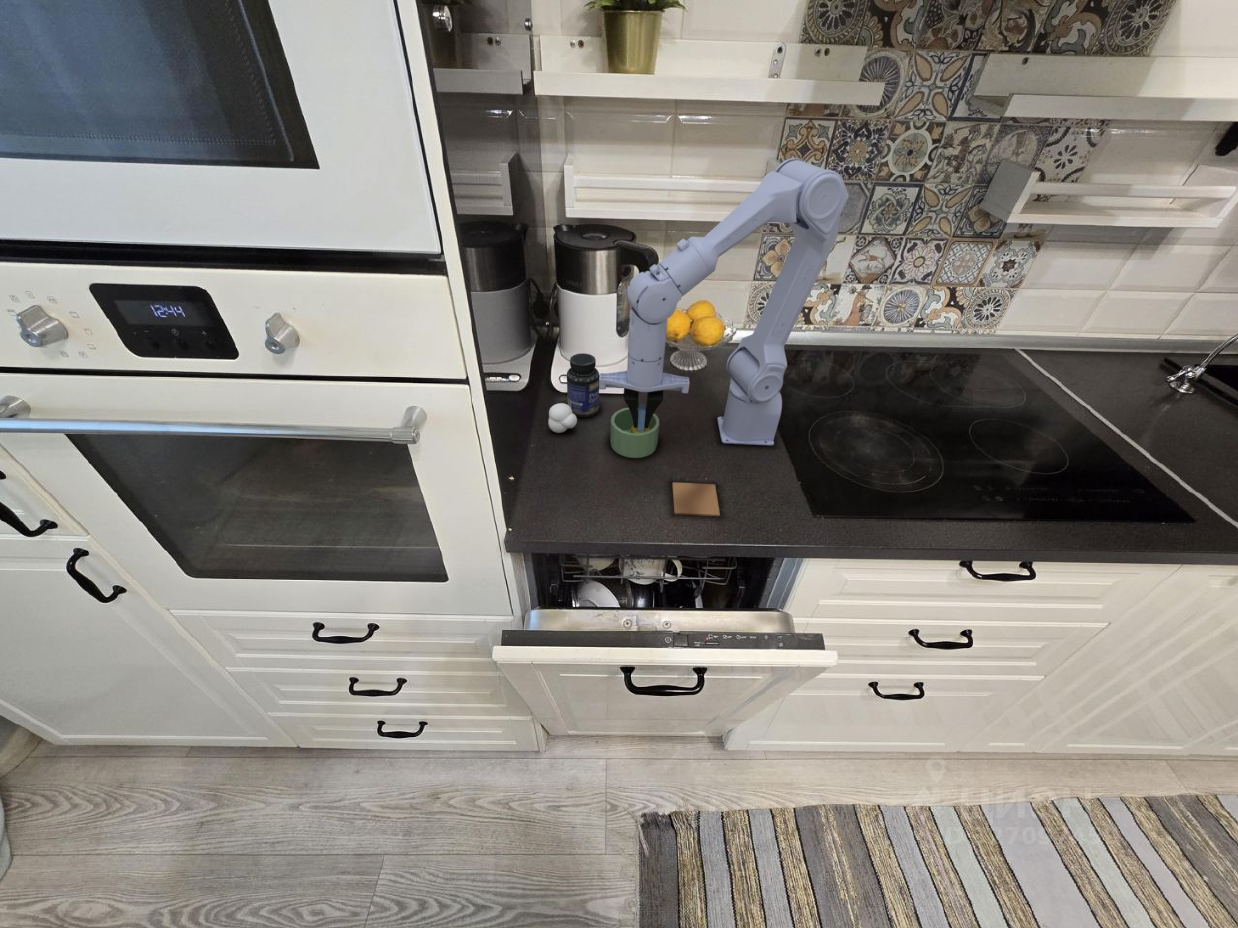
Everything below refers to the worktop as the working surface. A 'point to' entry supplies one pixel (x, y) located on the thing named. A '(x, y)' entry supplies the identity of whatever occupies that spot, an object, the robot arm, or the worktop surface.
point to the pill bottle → (583, 385)
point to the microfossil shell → (561, 418)
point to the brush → (640, 420)
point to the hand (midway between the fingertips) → (641, 424)
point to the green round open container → (632, 435)
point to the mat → (695, 499)
